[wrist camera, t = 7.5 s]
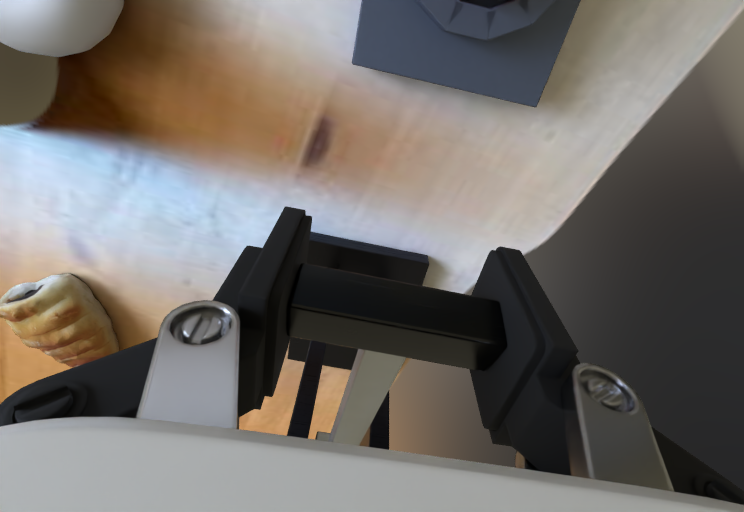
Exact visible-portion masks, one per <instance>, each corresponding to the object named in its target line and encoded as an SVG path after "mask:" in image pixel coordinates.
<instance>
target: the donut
mask: <svg viewBox="0 0 744 512" xmlns="http://www.w3.org/2000/svg"><path fill="white" fill-rule="evenodd" d="M123 5H124V0H0V42H2V43H3V44H6V45H8V46H10V47H12V48H14V49H16V50H18V51H22V52H28V53H34V54H40V55H47V56H53V57H61V56H66V55H71V54H75V53H80V52H85V51H87V50H90V49H91V48H92V47H94V46H95V45H96V44H98V43H99V42H100V41H101V40H103V39H104V38H105V37H107V36H108V35H109V34H110V33H111V31H112V29H113V27H114V25H115V23H116V21H117V19H118V17H119V15H120V13H121V11H122V9H123Z"/></svg>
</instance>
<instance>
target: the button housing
mask: <svg viewBox="0 0 744 512" xmlns="http://www.w3.org/2000/svg"><path fill="white" fill-rule="evenodd" d="M580 1H581V0H362V3H361V10H360V16H359V22H358V28H357V34H356V41H355V47H354V53H353V59H352V64H354V65H358V66H362V67H367V68H371V69H375V70H379V71H383V72H388V73H392V74H396V75H400V76H405V77H409V78H413V79H417V80H422V81H426V82H430V83H434V84H438V85H443V86H447V87H451V88H455V89H460V90H464V91H468V92H472V93H477V94H481V95H485V96H489V97H493V98H498V99H502V100H506V101H510V102H515V103H519V104H523V105H527V106H532V107H536V106H537V104H538V102H539V99H540V97H541V95H542V92H543V90H544V87H545V85H546V83H547V80H548V78H549V75H550V73H551V70H552V68H553V66H554V63H555V61H556V58H557V56H558V54H559V51H560V49H561V46H562V44H563V42H564V39H565V37H566V34H567V32H568V29H569V27H570V25H571V22H572V20H573V17H574V15H575V13H576V10H577V8H578V5H579V3H580Z"/></svg>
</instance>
